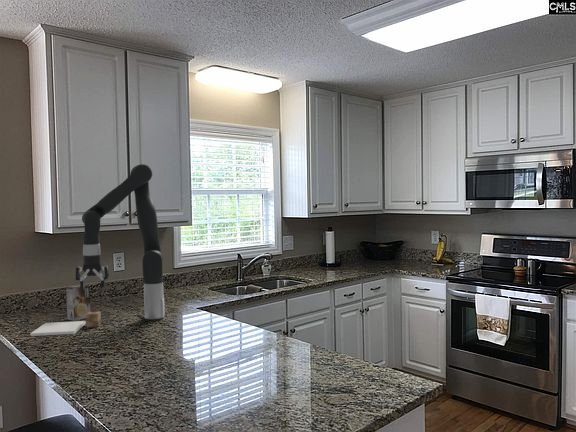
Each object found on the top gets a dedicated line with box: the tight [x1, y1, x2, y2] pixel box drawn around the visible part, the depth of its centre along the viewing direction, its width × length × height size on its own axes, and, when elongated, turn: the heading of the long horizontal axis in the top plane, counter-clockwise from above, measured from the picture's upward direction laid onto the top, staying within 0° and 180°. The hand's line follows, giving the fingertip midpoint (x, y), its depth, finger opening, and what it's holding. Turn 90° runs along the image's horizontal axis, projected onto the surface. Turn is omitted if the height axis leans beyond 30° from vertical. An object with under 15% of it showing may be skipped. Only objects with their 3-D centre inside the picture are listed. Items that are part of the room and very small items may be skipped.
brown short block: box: [86, 310, 102, 328], centre depth 223 cm, size 5×5×6 cm
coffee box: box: [65, 284, 92, 322], centre depth 237 cm, size 9×6×16 cm
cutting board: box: [30, 320, 87, 337], centre depth 217 cm, size 18×18×1 cm
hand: (92, 288), depth 222 cm, fingers open, 8 cm apart
